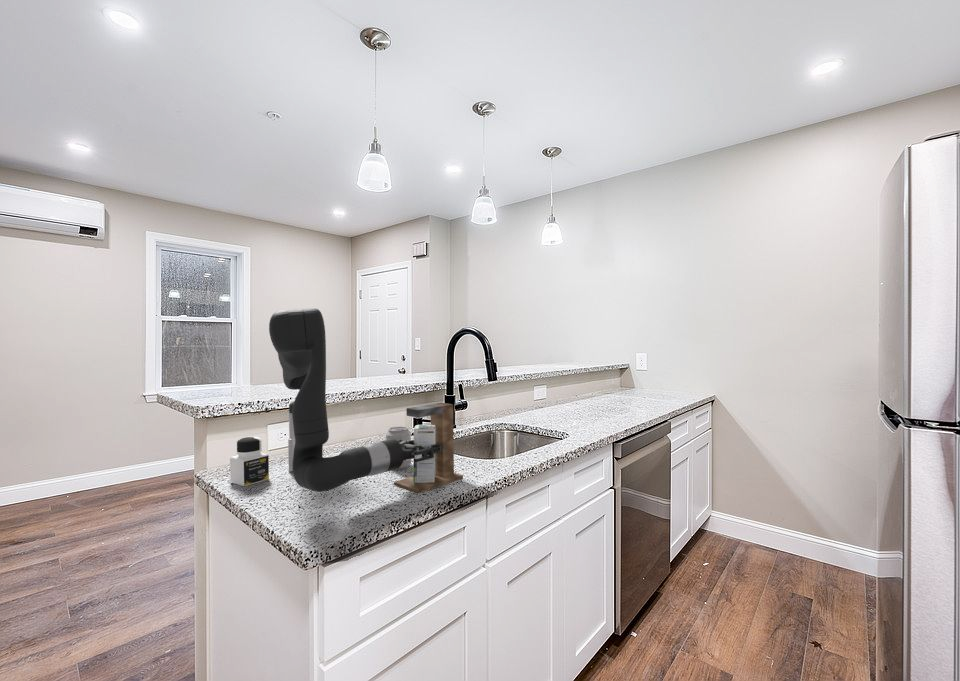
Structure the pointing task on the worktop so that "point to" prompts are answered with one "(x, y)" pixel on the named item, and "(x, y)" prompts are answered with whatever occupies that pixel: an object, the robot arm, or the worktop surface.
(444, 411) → the keeper bracket
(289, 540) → the worktop surface
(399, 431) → the can
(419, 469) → the syrup box
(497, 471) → the worktop surface
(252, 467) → the medicine bottle
